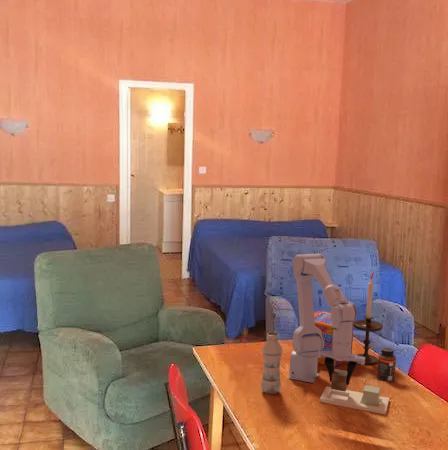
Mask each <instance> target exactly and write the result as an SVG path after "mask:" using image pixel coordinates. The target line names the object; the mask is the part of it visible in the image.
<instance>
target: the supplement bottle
mask: <svg viewBox="0 0 448 450" xmlns="http://www.w3.org/2000/svg"><path fill="white" fill-rule="evenodd" d="M377 358H378V363H377V373H376V378H377V380H378V381H380V382H385V383H393V382H395V378H396V377H395V375H396V363H397V358H396V355H394V349H393V348H391V347H382V348H381V353H379V355H378V357H377Z"/></svg>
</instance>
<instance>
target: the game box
mask: <svg viewBox="0 0 448 450" xmlns="http://www.w3.org/2000/svg"><path fill="white" fill-rule="evenodd" d="M314 320H315V326H316V327H317V328H319V329H320V330H321V332H322V337H323V340H324V347H323V350H324V351H332V347H333V330H334V327H333V326H332V318H331V312H327V311H322V310H316V311H314ZM352 322H353V324H354V322H355V321H352ZM353 324H352V341H351V354H353V337H354V326H353ZM312 334H313V333H312ZM304 335H310V334H304ZM324 361H325V358H322V357H321V358H318V364H321V365H325V363H324ZM342 363H344V361H337V360H335V361H334V368H336V367H338V366H339V365H341V364H342Z"/></svg>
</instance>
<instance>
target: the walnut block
mask: <svg viewBox="0 0 448 450" xmlns="http://www.w3.org/2000/svg"><path fill="white" fill-rule="evenodd" d="M346 380H347V370H343V369H336V368H334V371H333V373H332V382H331V384H330V387H331V389H333V390H339V391H344V392H346V390H348V387H349V385H346Z"/></svg>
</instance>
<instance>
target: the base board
mask: <svg viewBox="0 0 448 450" xmlns="http://www.w3.org/2000/svg"><path fill="white" fill-rule="evenodd" d="M319 402H320V403H323V404H329V405H335V406H340V407H344V408H345V407H346V408H350V409H355V410H361V411H365V412H369V413H370V412H372V413H375V414H376V413H377V414H382V415H386V414H387V411H388V407H389V403H390V397H387V396H381V395H380V397H379V405H378V407H376V406H371V405H366V404H363V392H360V391H355V390H354V391H353V390H349V389H346V392H344V391H339V390H333V389H331V386H325V388H324V390H323V392H322V394H321V396H320V398H319Z"/></svg>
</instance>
